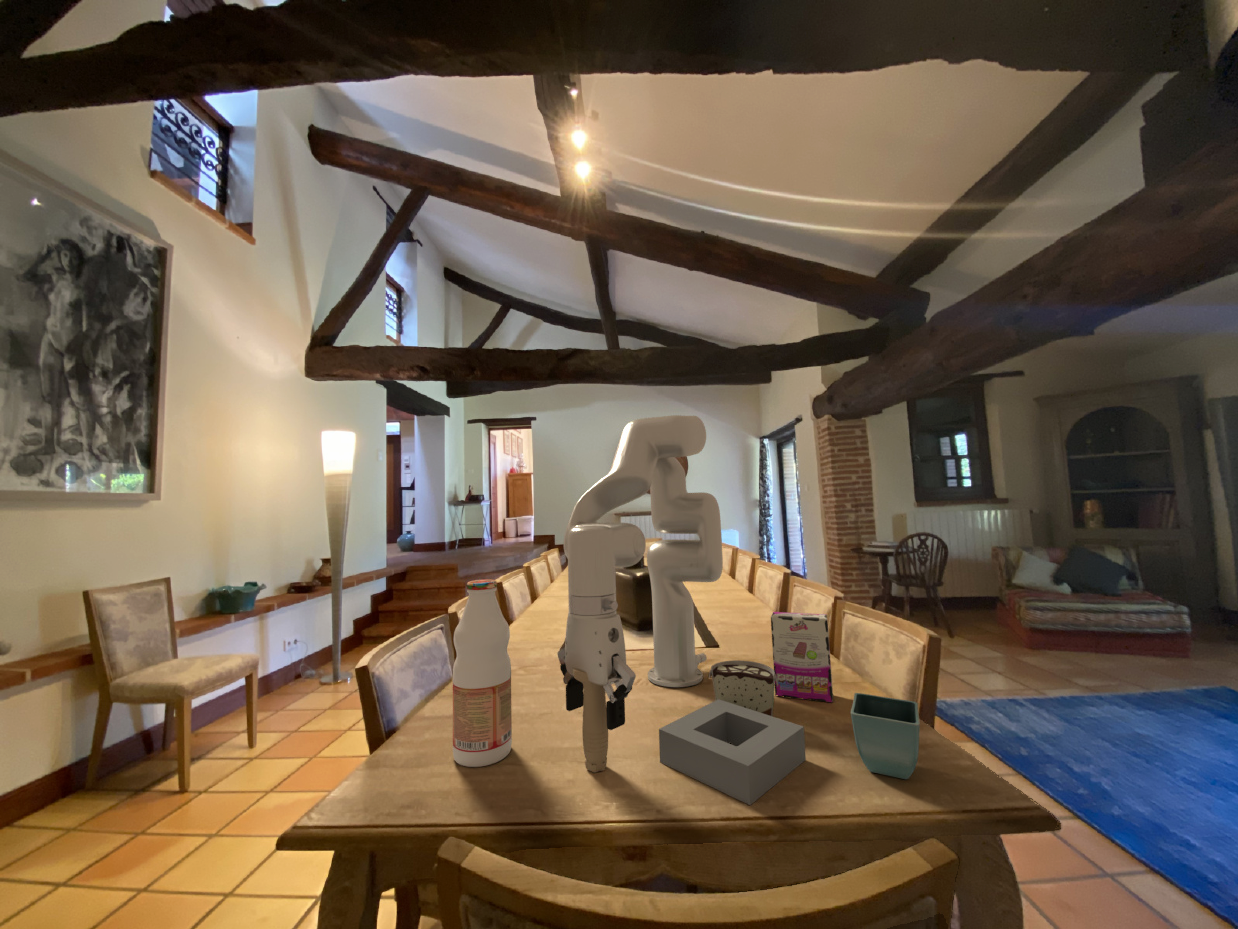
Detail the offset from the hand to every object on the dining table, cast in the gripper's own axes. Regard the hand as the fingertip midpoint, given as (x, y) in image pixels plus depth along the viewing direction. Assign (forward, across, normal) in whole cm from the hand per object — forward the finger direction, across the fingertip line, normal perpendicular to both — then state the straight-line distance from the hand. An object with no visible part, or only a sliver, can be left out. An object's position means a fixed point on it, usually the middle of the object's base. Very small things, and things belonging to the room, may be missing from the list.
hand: (594, 717), depth 76 cm
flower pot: (+8, -32, -30) cm, 45 cm away
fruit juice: (+8, +17, +10) cm, 21 cm away
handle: (+8, 0, 0) cm, 8 cm away
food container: (+8, -8, -30) cm, 32 cm away
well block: (+7, -14, -16) cm, 23 cm away
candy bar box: (+8, -10, -48) cm, 50 cm away
